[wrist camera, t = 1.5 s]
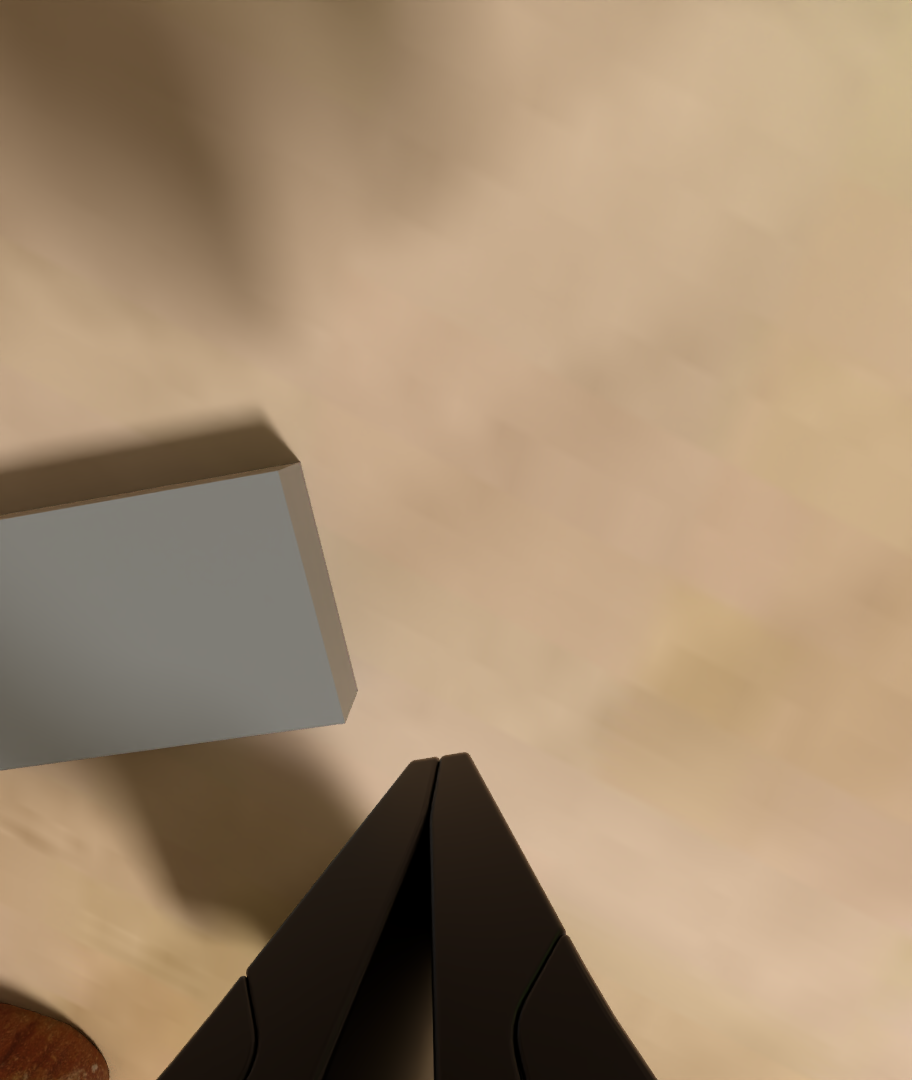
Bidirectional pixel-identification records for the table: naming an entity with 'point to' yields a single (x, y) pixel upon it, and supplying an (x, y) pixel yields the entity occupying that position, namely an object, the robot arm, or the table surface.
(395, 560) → the table surface
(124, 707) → the slate slab
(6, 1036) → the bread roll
